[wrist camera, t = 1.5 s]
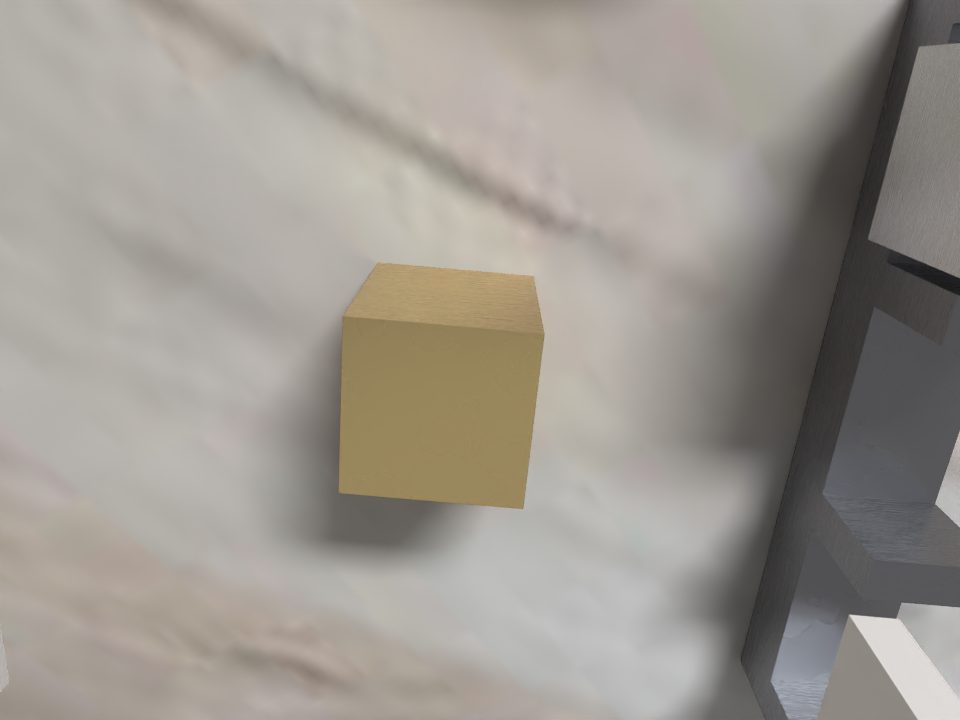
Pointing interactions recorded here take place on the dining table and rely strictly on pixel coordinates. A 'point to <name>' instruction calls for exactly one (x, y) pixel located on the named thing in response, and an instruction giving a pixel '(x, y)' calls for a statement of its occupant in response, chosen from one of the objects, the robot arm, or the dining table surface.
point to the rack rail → (866, 444)
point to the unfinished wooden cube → (440, 385)
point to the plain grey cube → (925, 166)
